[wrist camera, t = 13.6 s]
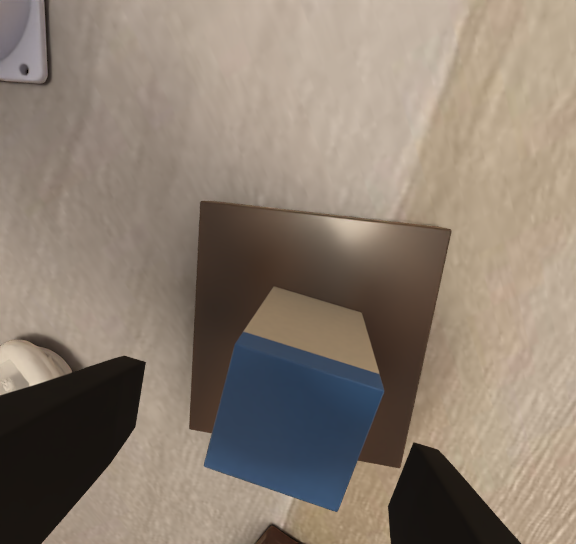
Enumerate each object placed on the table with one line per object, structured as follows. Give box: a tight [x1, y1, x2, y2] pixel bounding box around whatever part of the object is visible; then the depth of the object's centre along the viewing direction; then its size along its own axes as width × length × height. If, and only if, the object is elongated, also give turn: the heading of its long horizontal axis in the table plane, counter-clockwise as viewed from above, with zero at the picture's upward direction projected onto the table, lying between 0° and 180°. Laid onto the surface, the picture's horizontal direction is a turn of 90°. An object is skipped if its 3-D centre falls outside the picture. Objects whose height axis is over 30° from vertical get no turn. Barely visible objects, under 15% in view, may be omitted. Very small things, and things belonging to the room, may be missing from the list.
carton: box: [204, 287, 384, 512], centre depth 14 cm, size 5×5×7 cm
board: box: [189, 201, 451, 468], centre depth 18 cm, size 12×13×2 cm
